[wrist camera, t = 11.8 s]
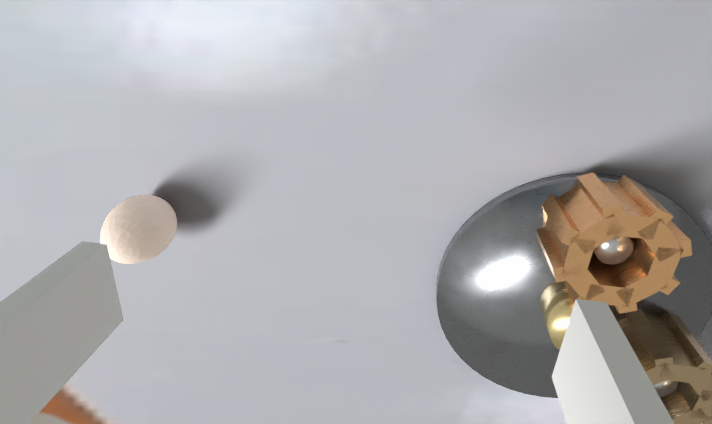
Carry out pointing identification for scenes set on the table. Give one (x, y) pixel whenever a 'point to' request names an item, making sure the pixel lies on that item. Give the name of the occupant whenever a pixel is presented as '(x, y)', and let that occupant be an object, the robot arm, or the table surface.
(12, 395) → the robot arm
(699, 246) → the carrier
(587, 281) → the planet gear
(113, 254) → the egg
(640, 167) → the table surface
